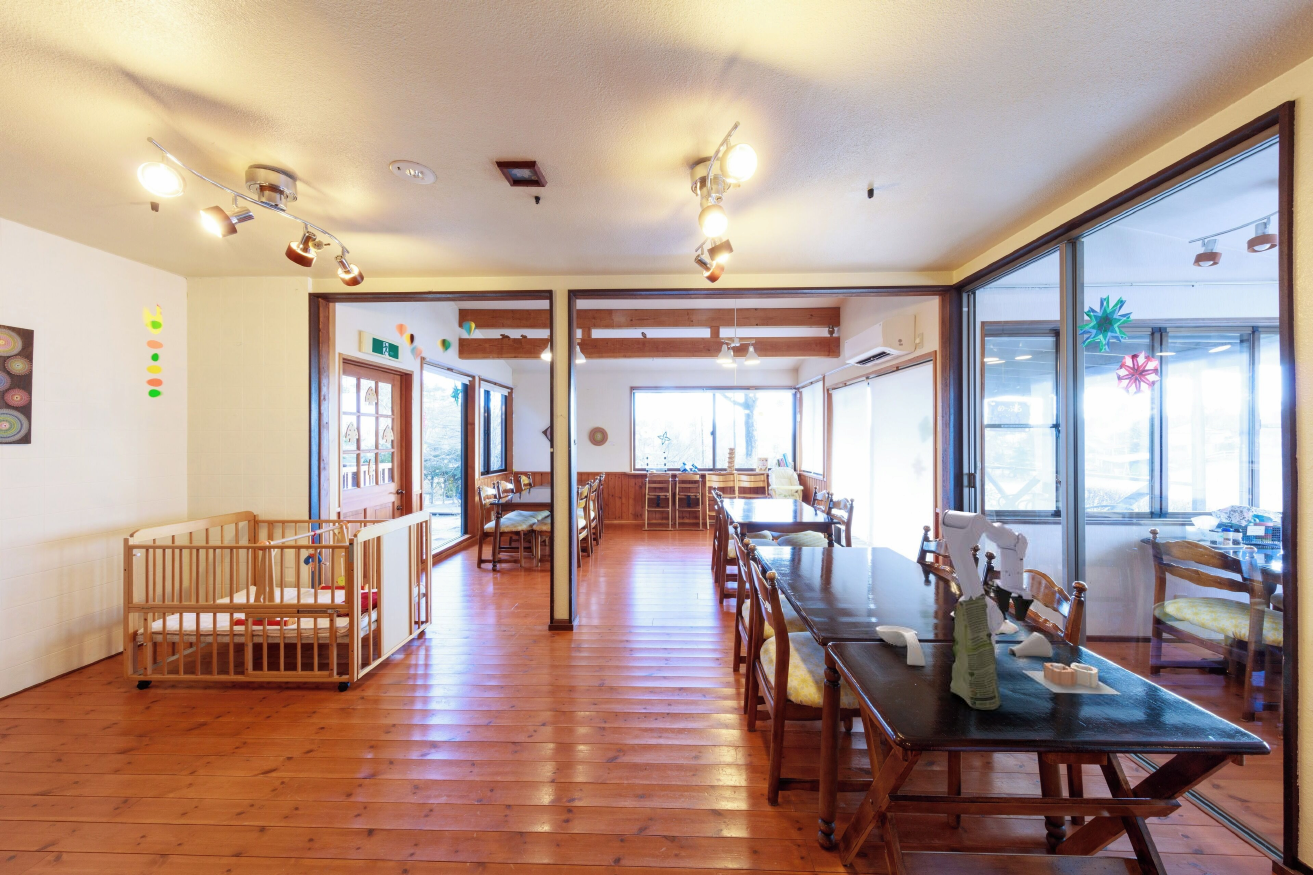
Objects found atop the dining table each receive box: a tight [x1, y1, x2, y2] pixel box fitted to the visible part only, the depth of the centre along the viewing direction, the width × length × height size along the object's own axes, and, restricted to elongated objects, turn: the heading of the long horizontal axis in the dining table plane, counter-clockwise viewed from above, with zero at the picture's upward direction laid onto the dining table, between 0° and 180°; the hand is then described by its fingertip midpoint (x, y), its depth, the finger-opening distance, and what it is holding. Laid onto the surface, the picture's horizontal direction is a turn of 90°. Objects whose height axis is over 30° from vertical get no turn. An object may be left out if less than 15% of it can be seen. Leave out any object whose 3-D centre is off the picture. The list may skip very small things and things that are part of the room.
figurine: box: [950, 579, 1020, 635], centre depth 175 cm, size 20×18×16 cm
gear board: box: [1022, 662, 1123, 695], centre depth 129 cm, size 16×12×5 cm
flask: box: [1007, 631, 1054, 658], centre depth 147 cm, size 7×7×10 cm
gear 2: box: [1069, 662, 1099, 687], centre depth 130 cm, size 5×5×4 cm
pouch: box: [950, 593, 1002, 711], centre depth 122 cm, size 11×12×25 cm
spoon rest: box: [875, 625, 926, 667], centre depth 153 cm, size 24×12×7 cm, turn 172°
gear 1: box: [1043, 662, 1075, 686], centre depth 130 cm, size 5×5×4 cm
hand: (1012, 616), depth 154 cm, fingers open, 7 cm apart
